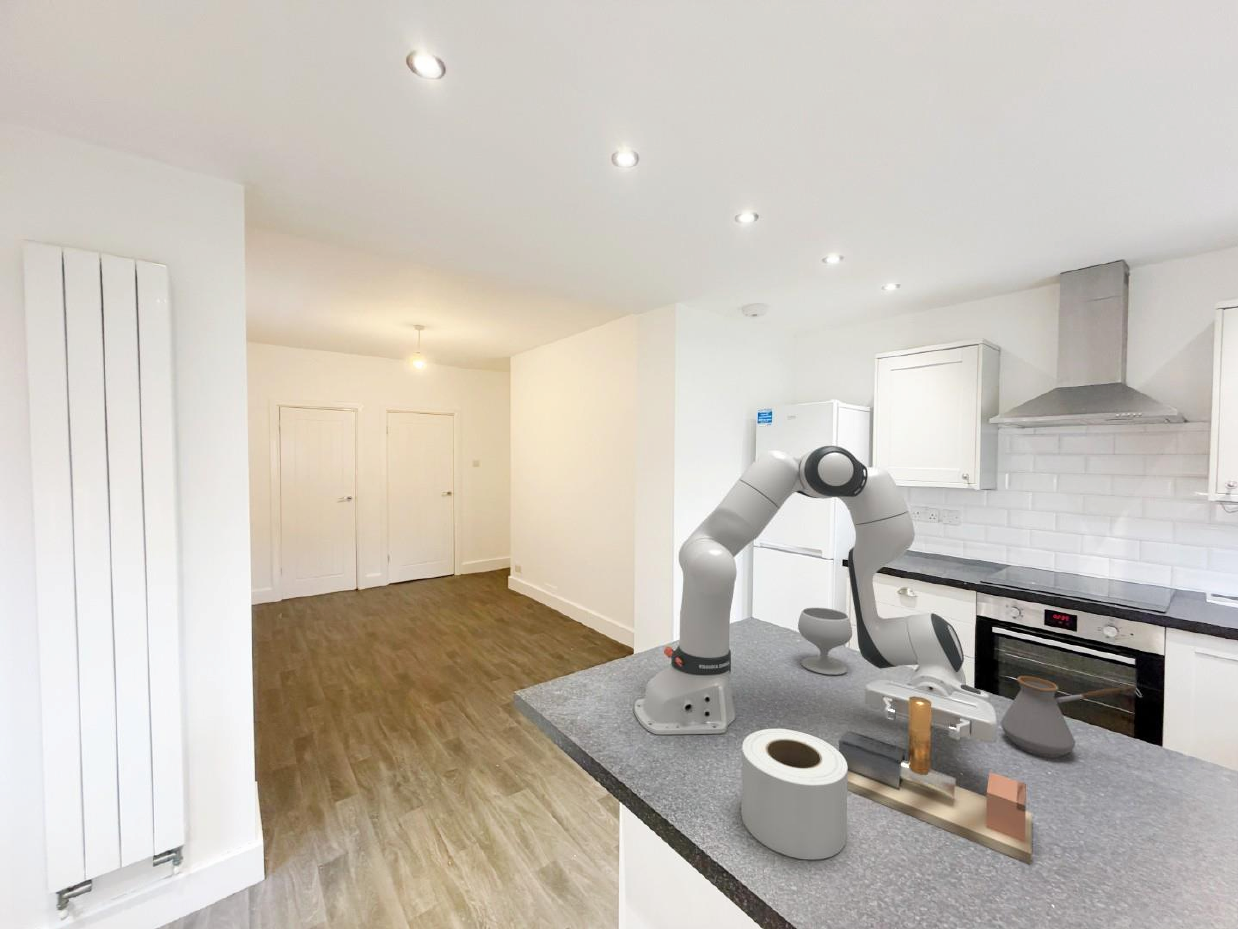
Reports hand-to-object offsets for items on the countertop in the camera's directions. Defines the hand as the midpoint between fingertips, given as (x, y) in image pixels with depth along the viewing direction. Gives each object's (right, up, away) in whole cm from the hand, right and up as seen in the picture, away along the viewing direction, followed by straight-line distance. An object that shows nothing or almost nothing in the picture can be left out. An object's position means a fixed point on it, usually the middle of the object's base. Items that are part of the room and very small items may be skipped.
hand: (920, 724), depth 84 cm
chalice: (+6, -13, +54) cm, 56 cm away
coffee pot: (+37, -13, +14) cm, 42 cm away
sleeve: (-7, -10, +4) cm, 13 cm away
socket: (+8, -11, -9) cm, 16 cm away
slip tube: (-3, -10, +1) cm, 10 cm away
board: (0, -12, -2) cm, 12 cm away
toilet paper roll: (-24, -12, -7) cm, 28 cm away
